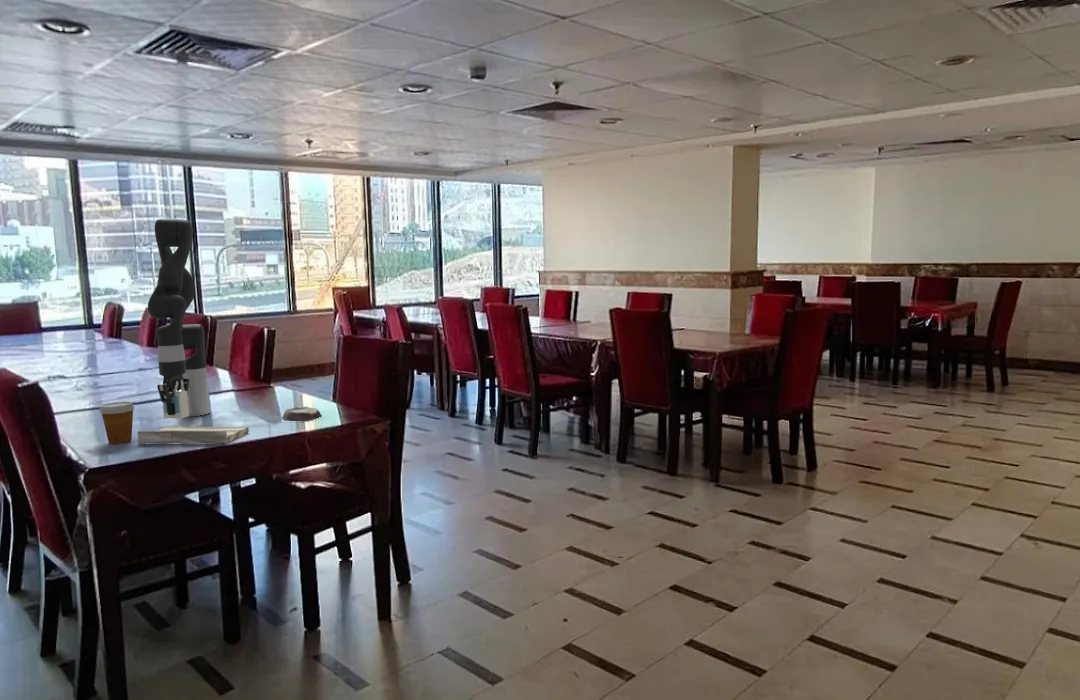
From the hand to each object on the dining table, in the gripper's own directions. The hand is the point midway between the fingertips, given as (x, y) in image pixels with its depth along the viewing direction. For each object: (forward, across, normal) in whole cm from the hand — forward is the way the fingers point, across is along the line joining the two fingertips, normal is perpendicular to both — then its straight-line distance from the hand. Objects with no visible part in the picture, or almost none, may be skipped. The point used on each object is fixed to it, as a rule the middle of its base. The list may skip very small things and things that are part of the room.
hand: (176, 413), depth 234 cm
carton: (+1, 0, 0) cm, 1 cm away
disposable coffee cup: (+9, -4, +17) cm, 19 cm away
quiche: (+9, +32, -26) cm, 42 cm away
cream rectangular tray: (+8, +2, -5) cm, 10 cm away
